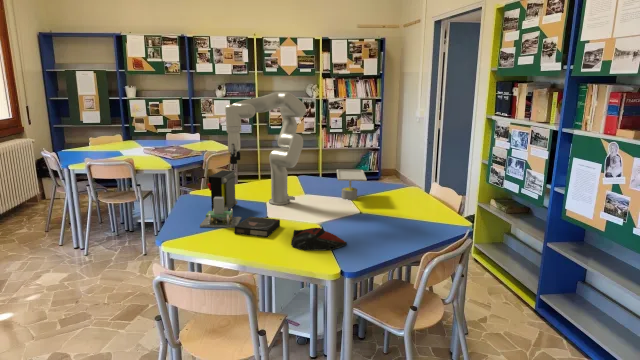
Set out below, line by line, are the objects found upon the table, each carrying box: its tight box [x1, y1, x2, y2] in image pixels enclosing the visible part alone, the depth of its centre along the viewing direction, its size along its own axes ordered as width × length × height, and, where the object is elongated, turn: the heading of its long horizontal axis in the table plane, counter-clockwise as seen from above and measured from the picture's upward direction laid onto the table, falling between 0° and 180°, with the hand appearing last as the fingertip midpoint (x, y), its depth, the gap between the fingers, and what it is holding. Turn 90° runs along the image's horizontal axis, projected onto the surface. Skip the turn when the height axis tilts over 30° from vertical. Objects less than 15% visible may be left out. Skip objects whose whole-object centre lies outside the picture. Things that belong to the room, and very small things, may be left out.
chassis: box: [199, 208, 242, 229], centre depth 219 cm, size 18×14×6 cm
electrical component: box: [207, 169, 238, 211], centre depth 242 cm, size 18×10×20 cm, turn 168°
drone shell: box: [290, 227, 348, 251], centre depth 192 cm, size 21×20×8 cm
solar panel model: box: [336, 169, 368, 201], centre depth 269 cm, size 28×17×15 cm, turn 179°
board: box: [205, 197, 234, 218], centre depth 218 cm, size 12×7×9 cm, turn 91°
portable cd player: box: [233, 216, 281, 238], centre depth 210 cm, size 16×17×4 cm
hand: (235, 161), depth 226 cm, fingers open, 9 cm apart
